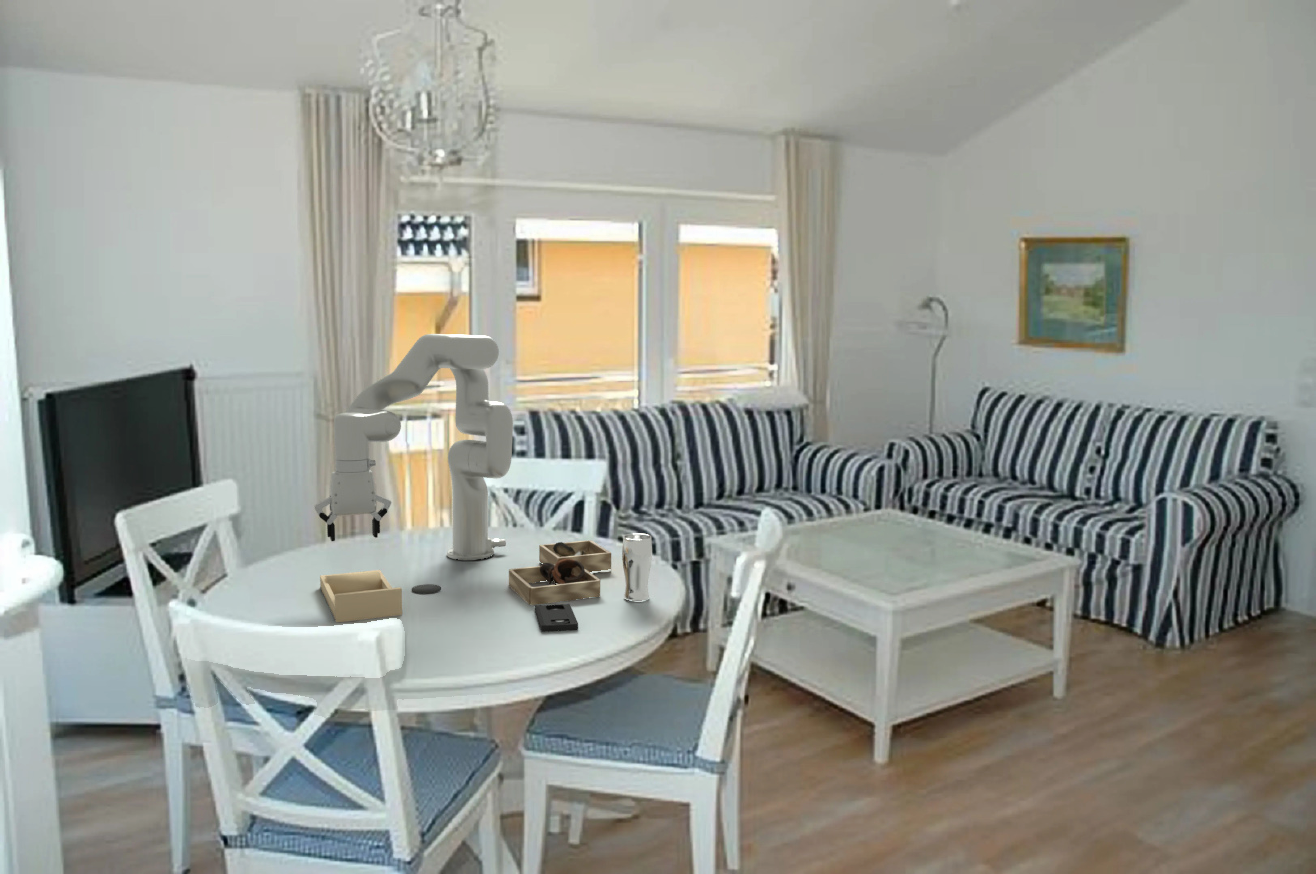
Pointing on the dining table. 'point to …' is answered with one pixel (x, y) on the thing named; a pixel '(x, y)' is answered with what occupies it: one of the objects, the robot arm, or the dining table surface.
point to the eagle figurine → (566, 550)
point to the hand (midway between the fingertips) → (354, 538)
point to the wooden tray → (591, 561)
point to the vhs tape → (556, 618)
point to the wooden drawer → (360, 596)
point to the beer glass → (636, 565)
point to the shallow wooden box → (551, 586)
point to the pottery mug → (562, 572)
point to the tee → (426, 589)
